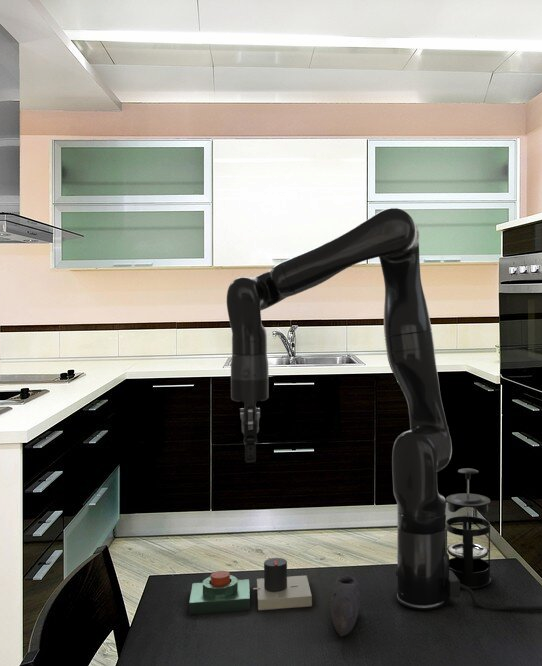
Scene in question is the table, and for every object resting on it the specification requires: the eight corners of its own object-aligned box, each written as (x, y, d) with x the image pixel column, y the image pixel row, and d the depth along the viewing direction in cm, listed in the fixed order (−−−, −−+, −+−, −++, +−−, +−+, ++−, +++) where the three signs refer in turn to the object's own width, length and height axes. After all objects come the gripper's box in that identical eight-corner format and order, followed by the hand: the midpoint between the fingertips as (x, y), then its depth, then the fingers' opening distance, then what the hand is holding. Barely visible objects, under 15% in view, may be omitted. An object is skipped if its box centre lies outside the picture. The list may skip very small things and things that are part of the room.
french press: (492, 592, 133) (493, 476, 132) (444, 589, 134) (444, 475, 134) (489, 569, 145) (489, 463, 144) (444, 567, 146) (445, 461, 145)
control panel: (306, 584, 137) (306, 574, 137) (311, 606, 127) (311, 595, 127) (252, 588, 135) (252, 578, 135) (253, 610, 125) (253, 599, 125)
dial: (263, 583, 133) (263, 557, 133) (286, 581, 134) (285, 555, 133) (264, 593, 128) (264, 565, 128) (288, 591, 129) (287, 563, 129)
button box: (249, 590, 135) (249, 570, 134) (249, 610, 126) (249, 588, 126) (192, 594, 133) (192, 574, 133) (189, 614, 124) (188, 593, 124)
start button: (230, 578, 131) (229, 570, 131) (229, 586, 128) (229, 577, 128) (211, 580, 131) (211, 571, 131) (210, 587, 127) (210, 578, 127)
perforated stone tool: (356, 645, 112) (355, 604, 112) (324, 644, 113) (324, 603, 113) (362, 605, 127) (362, 569, 127) (334, 604, 128) (334, 568, 128)
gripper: (269, 379, 131) (270, 468, 131) (267, 373, 144) (267, 453, 144) (230, 380, 129) (231, 470, 130) (231, 373, 142) (232, 455, 143)
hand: (250, 461), depth 137 cm, fingers closed
